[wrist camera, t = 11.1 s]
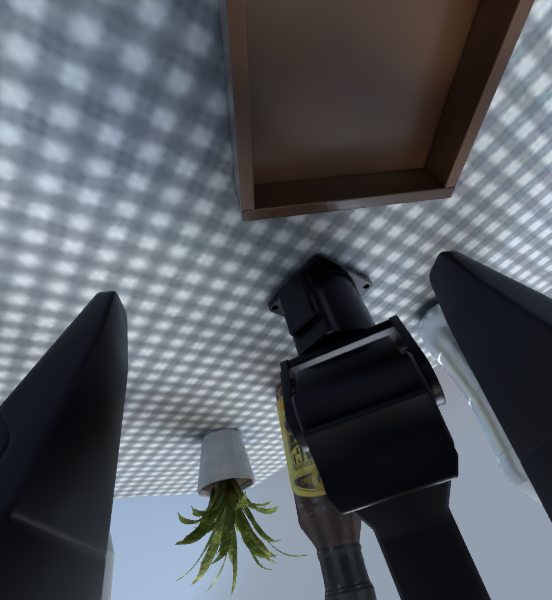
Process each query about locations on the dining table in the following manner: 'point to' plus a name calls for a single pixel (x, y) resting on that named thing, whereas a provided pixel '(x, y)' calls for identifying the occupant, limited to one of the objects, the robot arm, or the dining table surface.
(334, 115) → the brown wooden tray
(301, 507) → the sauce bottle
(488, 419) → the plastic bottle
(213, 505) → the house plant
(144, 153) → the dining table surface
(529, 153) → the dining table surface
